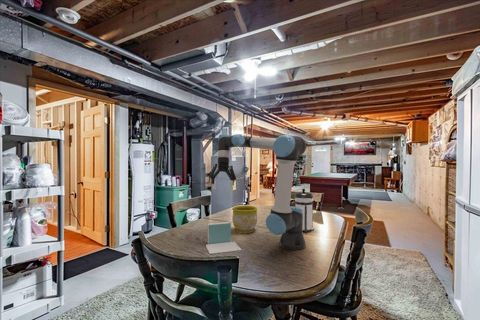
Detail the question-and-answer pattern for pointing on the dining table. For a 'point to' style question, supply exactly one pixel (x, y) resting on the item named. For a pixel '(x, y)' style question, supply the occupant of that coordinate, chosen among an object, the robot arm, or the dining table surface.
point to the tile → (219, 232)
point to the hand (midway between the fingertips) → (222, 189)
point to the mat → (222, 247)
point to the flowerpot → (244, 218)
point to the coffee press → (305, 208)
